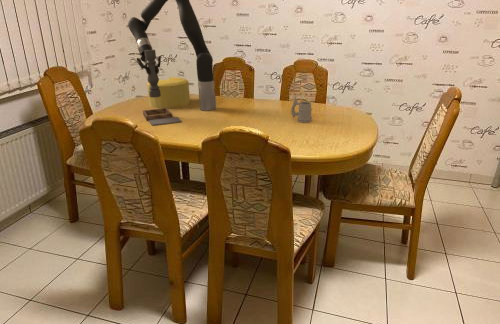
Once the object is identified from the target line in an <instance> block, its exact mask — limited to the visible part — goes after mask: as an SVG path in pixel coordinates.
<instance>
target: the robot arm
mask: <svg viewBox="0 0 500 324" xmlns="http://www.w3.org/2000/svg"><path fill="white" fill-rule="evenodd" d="M168 1H169V0H150V1H149V3H148V4H147V5H145V7H144V8H142V10H141V12H140V14H139V15H140V17H141V19H142V20H141V19H139V18H137V17H135V16H133V17H130V18H129V19H128V20H127V21H128V22H127V27H128V29H129V31H130V32H131V34H132V36H133V37H134V39H135V43H136V45H137V50H138V52H139V56H140V57H137V58H136V60H135V61H136V63H137V64H138V66H139V68H141V70H145V72H146V74H147V76H148V75H150V71H149V68H148V64H147V63H146V62H147V59H146V57H145V51H144V50H154V49H153V47H152V43H151V41H150V39H149V36H148V33H147V32H146V31H147V29H148V28H149V27H150V24H151V22H152V21H153V20H154V19H155V18H156V17H157V15H158V14H159V13H160V12H161V10H162V8H163V7H164V6H165V4H166V3H167V2H168ZM175 3H176V5H177V9H178V15H179V20H180V24H181V26H182V28H183V31H184V34H185V35H186V37H187V39H188V40H189V42H190V43H191V46H192V47H193V50H194V53H195V57H196V75H197V83H198V101H199V110H201V111H208V112H209V111H214V110H217V103H216V102H217V101H216V99H217V97H216V93H215V84H214V83H215V81H214V68H213V61H214V59H213V56H212V55H211V52H210V50H209V48H208V47H207V45H206V41H205V38H204V36H203V31H202V29H201V25H200V22H199V20H198V18H197V16H196V13H195V10H194V8H193V7H192V4H191V2H190V0H175ZM155 57H156V58H155V60H156V63H155V68H156V72H157V75H158V74H159V73H160V69H159V68H160V67H161V64H162V63H161V62H162V61H161V60H162V56H160V55H159V56H157V55H156V56H155Z"/></svg>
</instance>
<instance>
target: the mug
mask: <svg viewBox="0 0 500 324" xmlns="http://www.w3.org/2000/svg"><path fill="white" fill-rule="evenodd" d="M291 105H292V106H291V109H290V114H291V116H292V118H293V119H294V118H295V117H297V121H298V122H299V123H302V124H303V123H304V124H307V123H311V122H312V120H313V116H312V109H313V108H312V102H310V101H300V102H298V100H297V98H296V97H294V98H293V103H292V104H291ZM296 106H298V111H297V112H296V110H295V109H296Z"/></svg>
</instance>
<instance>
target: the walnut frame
mask: <svg viewBox="0 0 500 324" xmlns="http://www.w3.org/2000/svg"><path fill="white" fill-rule="evenodd" d="M172 114H173V113H172V112H171V111H170V110H169V108H153V109H144V110H142V115H143V117H144V119H145V121H148V122H149V120H153V119H162V118H170V117H173V115H172Z"/></svg>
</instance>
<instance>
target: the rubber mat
mask: <svg viewBox="0 0 500 324" xmlns="http://www.w3.org/2000/svg"><path fill="white" fill-rule="evenodd" d="M148 122H149V125H151V127H154V126H161V125H169V124H177V123H182V120H181V119H180V118H179V116H172V117H170V118H162V119H153V120H149V121H148Z"/></svg>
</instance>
